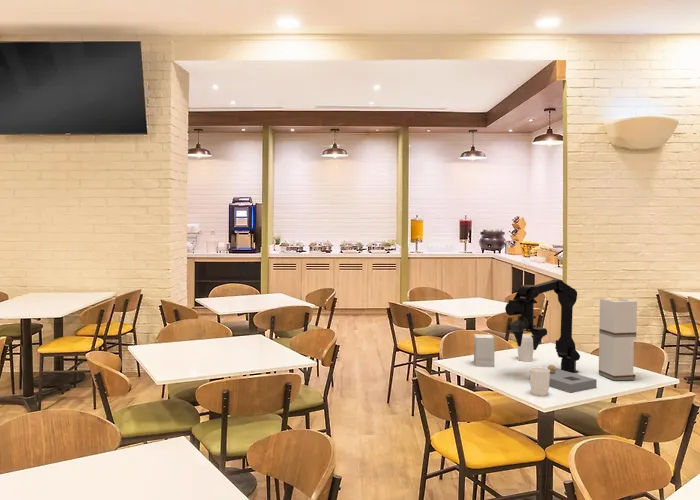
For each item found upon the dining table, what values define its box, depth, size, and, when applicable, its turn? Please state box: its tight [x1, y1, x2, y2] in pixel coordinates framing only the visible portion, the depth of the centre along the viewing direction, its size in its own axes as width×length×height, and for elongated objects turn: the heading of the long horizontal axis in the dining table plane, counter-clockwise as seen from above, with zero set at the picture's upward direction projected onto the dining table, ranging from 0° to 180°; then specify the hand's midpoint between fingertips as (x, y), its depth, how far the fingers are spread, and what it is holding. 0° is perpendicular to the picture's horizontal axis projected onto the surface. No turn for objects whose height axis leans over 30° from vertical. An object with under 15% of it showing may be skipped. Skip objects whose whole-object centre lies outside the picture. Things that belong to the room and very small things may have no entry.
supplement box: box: [473, 333, 495, 368], centre depth 281 cm, size 9×9×15 cm
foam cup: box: [516, 333, 535, 363], centre depth 291 cm, size 10×9×13 cm
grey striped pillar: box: [598, 297, 638, 381], centre depth 260 cm, size 11×11×35 cm
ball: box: [547, 364, 557, 373], centre depth 254 cm, size 4×4×4 cm
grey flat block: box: [549, 368, 598, 394], centre depth 248 cm, size 16×22×4 cm
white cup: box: [529, 366, 550, 397], centre depth 234 cm, size 8×8×10 cm
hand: (527, 348), depth 258 cm, fingers open, 9 cm apart
